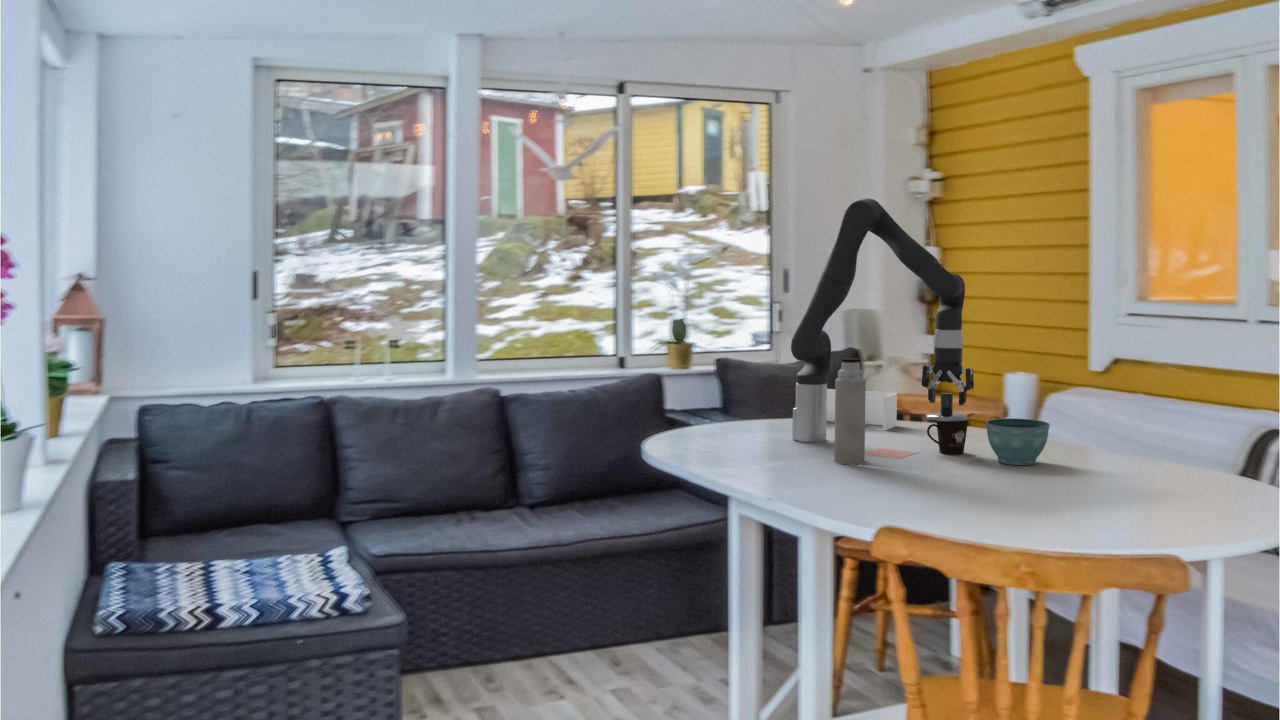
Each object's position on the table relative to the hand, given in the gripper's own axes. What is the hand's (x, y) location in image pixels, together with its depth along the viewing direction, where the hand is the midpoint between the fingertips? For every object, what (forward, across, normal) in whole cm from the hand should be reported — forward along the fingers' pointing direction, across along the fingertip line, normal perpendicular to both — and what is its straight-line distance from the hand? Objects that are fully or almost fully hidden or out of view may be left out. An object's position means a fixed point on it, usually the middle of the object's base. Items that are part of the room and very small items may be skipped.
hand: (947, 403), depth 319 cm
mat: (+14, -12, -10) cm, 21 cm away
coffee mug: (+14, 0, 0) cm, 14 cm away
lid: (+4, 0, 0) cm, 4 cm away
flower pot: (+14, +20, -1) cm, 25 cm away
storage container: (+14, -46, +33) cm, 59 cm away
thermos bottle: (+14, -15, -27) cm, 34 cm away
